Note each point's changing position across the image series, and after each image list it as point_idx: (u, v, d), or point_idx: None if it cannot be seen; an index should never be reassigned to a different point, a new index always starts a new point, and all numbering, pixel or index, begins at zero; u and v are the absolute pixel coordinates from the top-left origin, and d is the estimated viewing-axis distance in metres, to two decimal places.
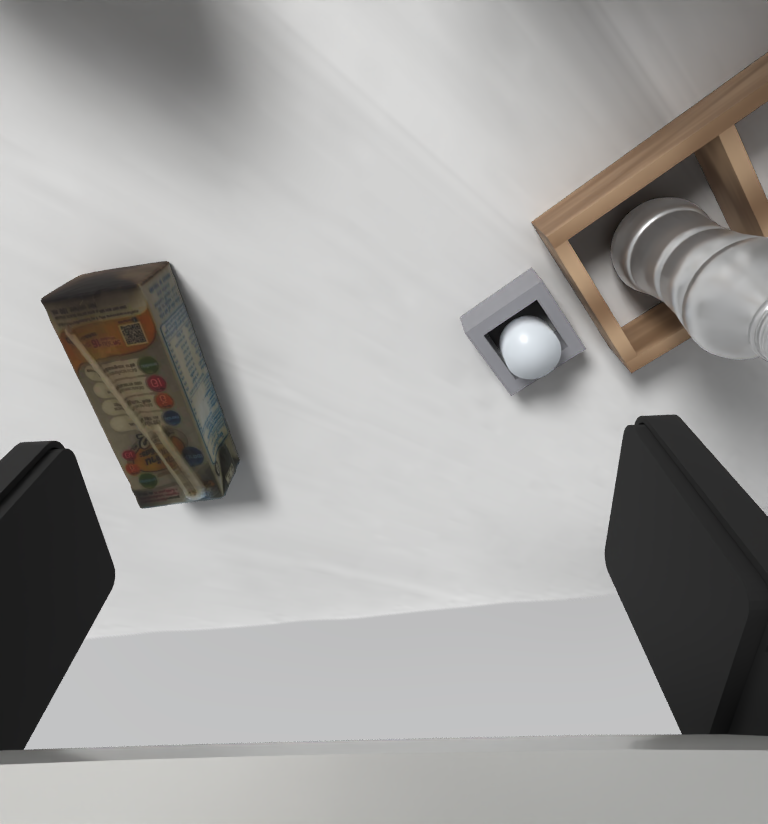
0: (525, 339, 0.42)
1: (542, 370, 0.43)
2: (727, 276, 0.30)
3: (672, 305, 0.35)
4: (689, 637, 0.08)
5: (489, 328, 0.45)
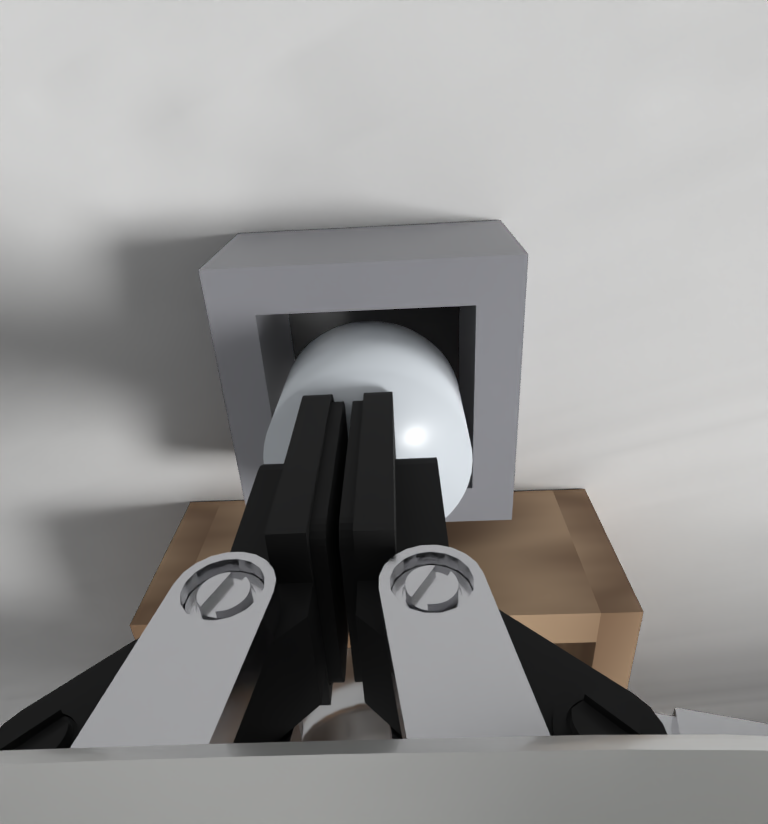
0: None
1: None
2: None
3: None
4: None
5: (484, 334, 0.13)
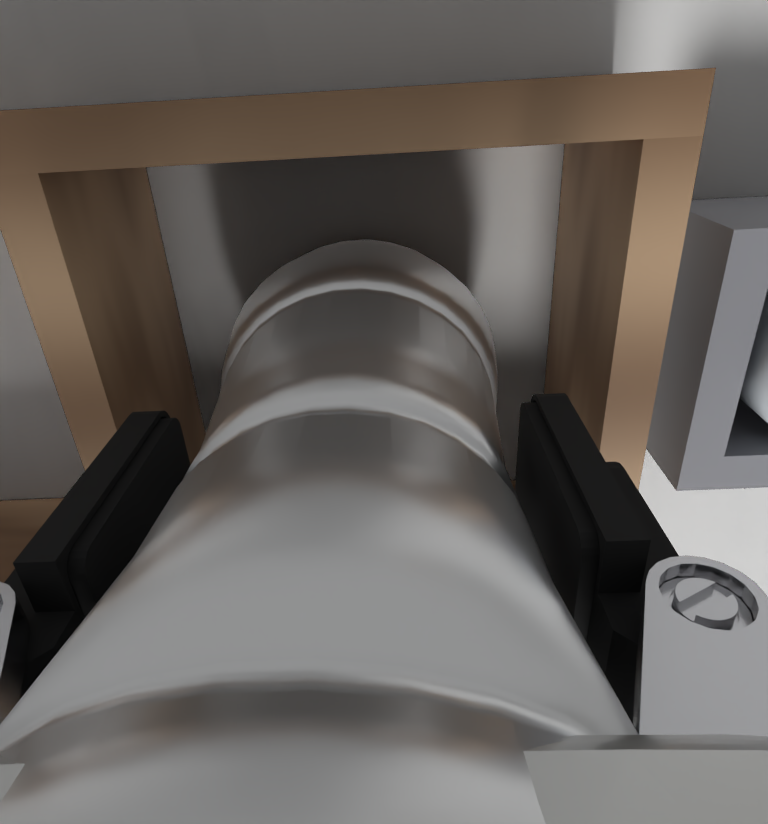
0: None
1: None
2: None
3: None
4: None
5: None
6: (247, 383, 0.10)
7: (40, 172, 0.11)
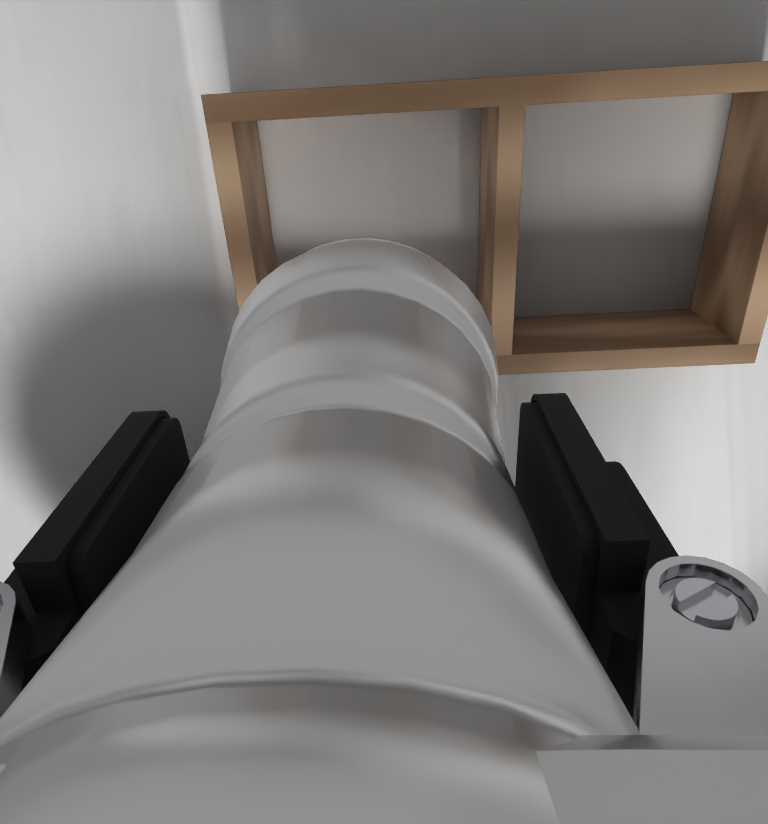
0: None
1: None
2: None
3: None
4: None
5: None
6: (247, 380, 0.10)
7: (523, 104, 0.23)
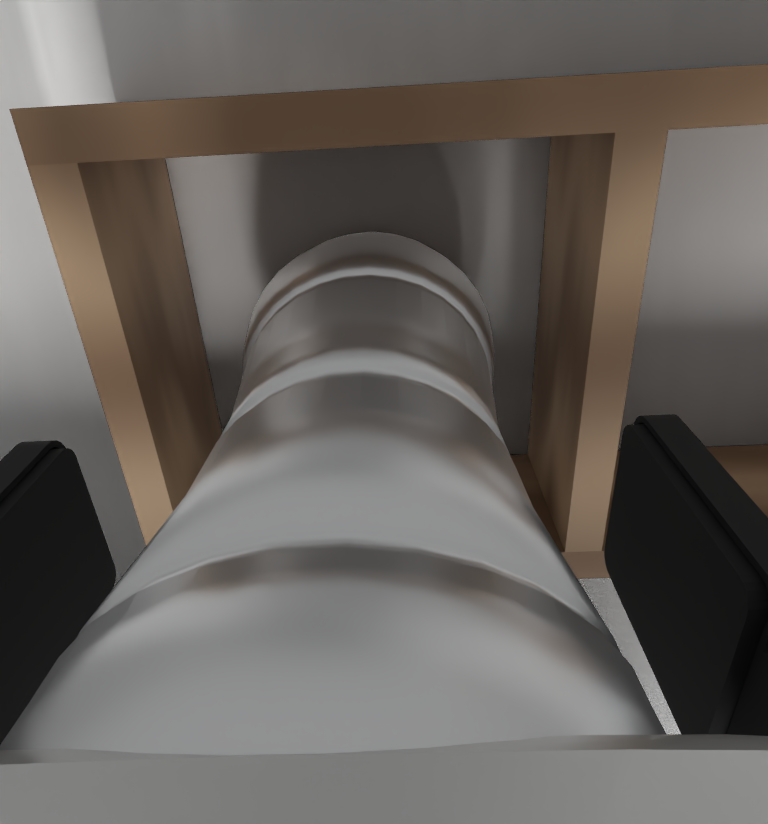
0: None
1: None
2: None
3: None
4: (688, 636, 0.08)
5: None
6: (271, 357, 0.11)
7: (662, 129, 0.12)
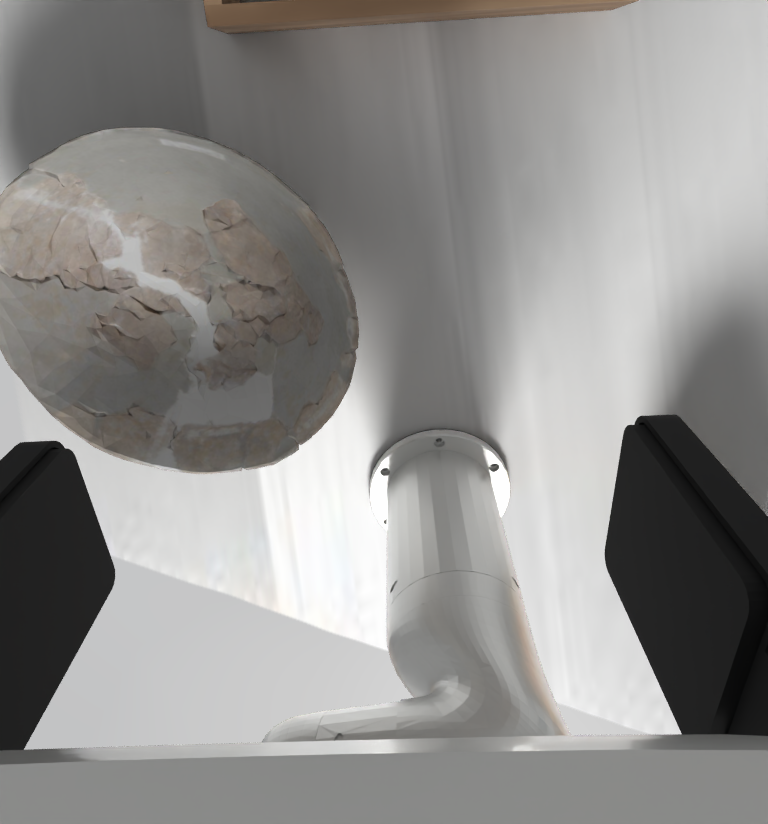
0: None
1: None
2: None
3: None
4: (689, 637, 0.08)
5: None
6: None
7: None
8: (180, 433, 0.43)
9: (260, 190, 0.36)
